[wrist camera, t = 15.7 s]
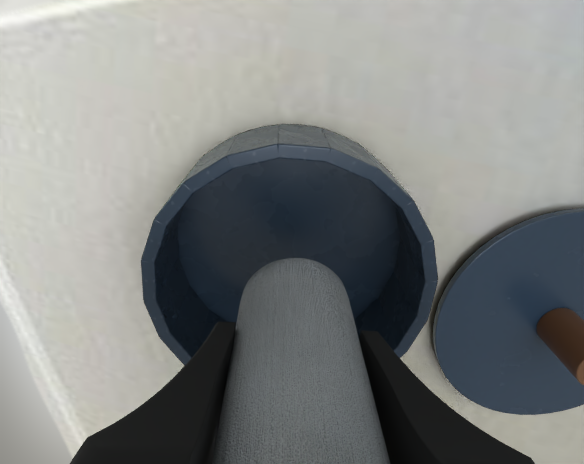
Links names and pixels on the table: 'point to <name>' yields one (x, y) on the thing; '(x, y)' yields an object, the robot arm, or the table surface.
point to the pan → (287, 235)
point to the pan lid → (518, 318)
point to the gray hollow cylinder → (297, 375)
